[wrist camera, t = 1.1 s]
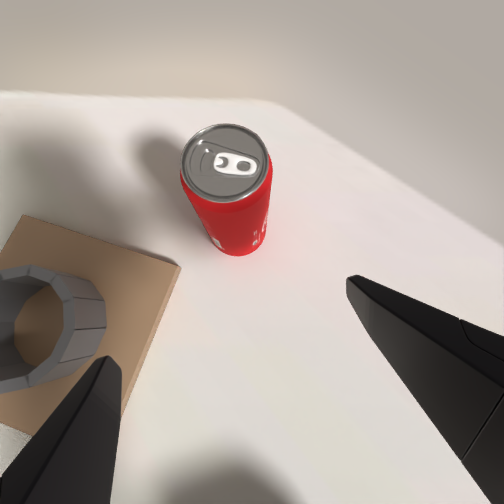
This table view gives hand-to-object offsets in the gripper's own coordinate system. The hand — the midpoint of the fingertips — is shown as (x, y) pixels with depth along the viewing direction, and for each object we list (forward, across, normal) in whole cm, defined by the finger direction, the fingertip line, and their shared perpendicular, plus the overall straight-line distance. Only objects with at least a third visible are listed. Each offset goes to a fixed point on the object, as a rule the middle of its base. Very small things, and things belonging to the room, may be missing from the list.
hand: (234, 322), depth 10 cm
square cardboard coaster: (+13, +16, +7) cm, 22 cm away
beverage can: (+16, -2, +5) cm, 17 cm away
